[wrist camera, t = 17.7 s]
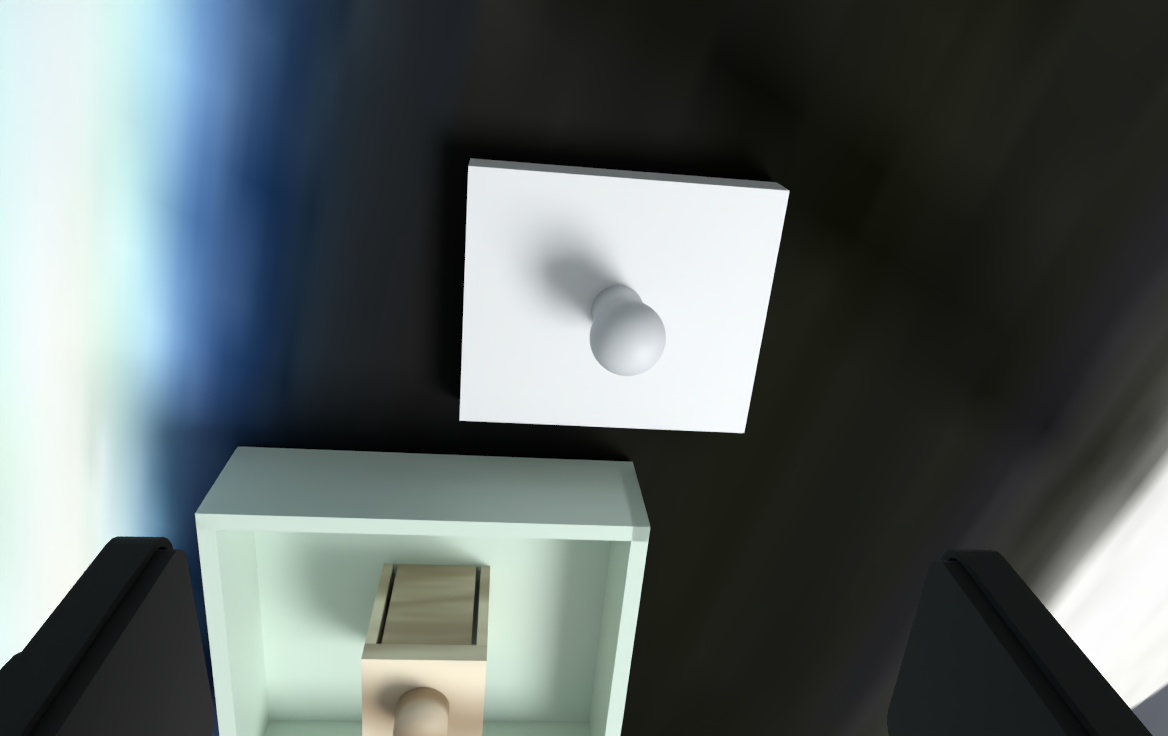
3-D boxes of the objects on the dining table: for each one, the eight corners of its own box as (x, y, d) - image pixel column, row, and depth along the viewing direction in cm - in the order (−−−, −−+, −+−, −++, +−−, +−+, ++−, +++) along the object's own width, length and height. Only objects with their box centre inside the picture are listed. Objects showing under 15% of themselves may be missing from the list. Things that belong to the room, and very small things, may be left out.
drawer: (383, 563, 43) (355, 684, 35) (490, 566, 44) (485, 685, 36) (383, 646, 45) (357, 778, 37) (485, 648, 46) (480, 777, 38)
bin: (632, 461, 43) (650, 527, 37) (599, 718, 50) (610, 805, 44) (237, 446, 41) (195, 513, 35) (260, 717, 48) (227, 808, 42)
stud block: (775, 182, 38) (830, 216, 31) (734, 414, 42) (774, 487, 36) (470, 158, 36) (461, 189, 30) (461, 402, 41) (452, 475, 34)
